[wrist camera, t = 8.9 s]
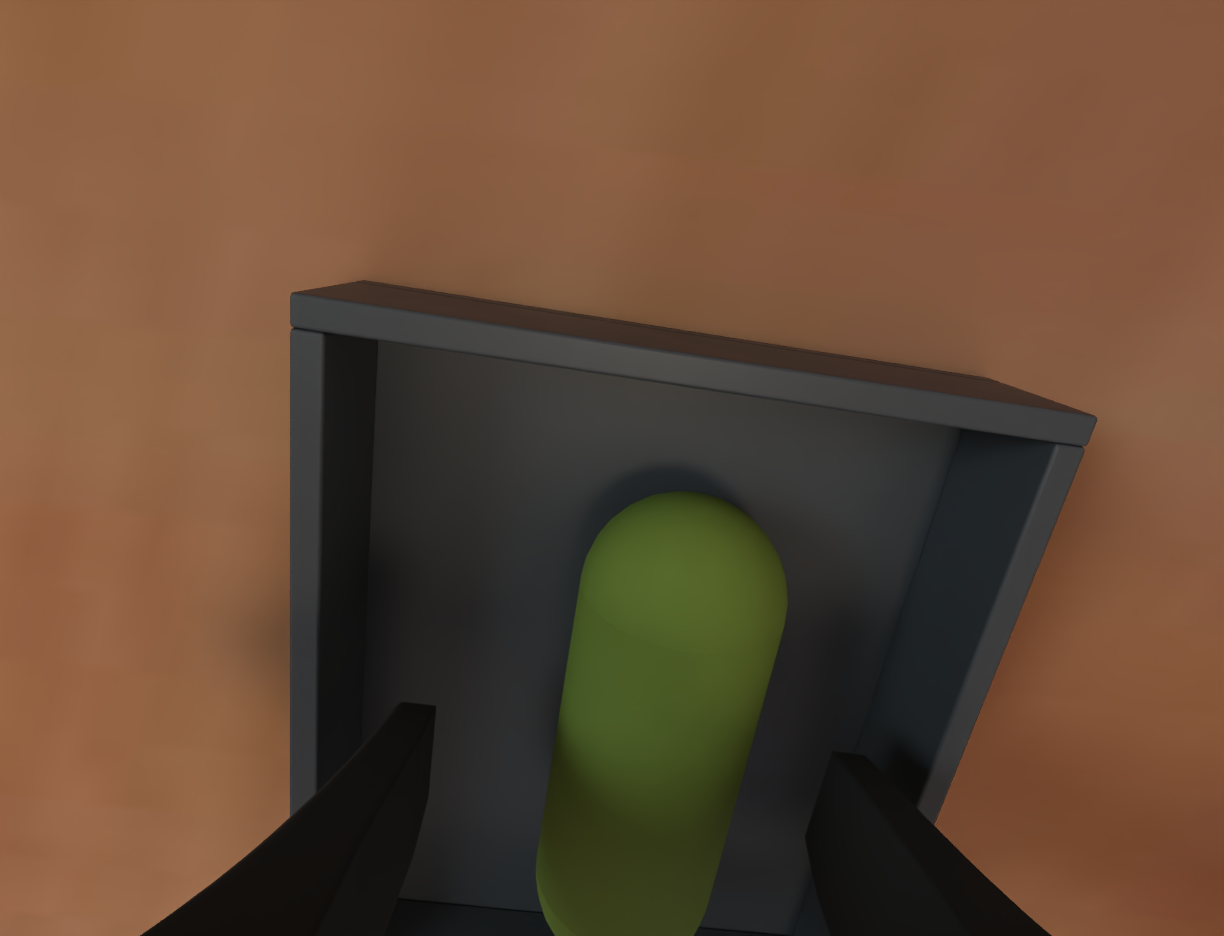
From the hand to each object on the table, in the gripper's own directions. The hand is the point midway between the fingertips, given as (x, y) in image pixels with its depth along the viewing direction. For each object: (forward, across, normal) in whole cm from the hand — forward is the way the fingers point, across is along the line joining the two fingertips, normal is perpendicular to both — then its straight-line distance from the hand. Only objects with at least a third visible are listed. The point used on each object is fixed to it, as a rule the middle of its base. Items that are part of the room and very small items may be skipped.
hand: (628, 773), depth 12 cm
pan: (+3, 0, 0) cm, 3 cm away
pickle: (+2, 0, 0) cm, 3 cm away
